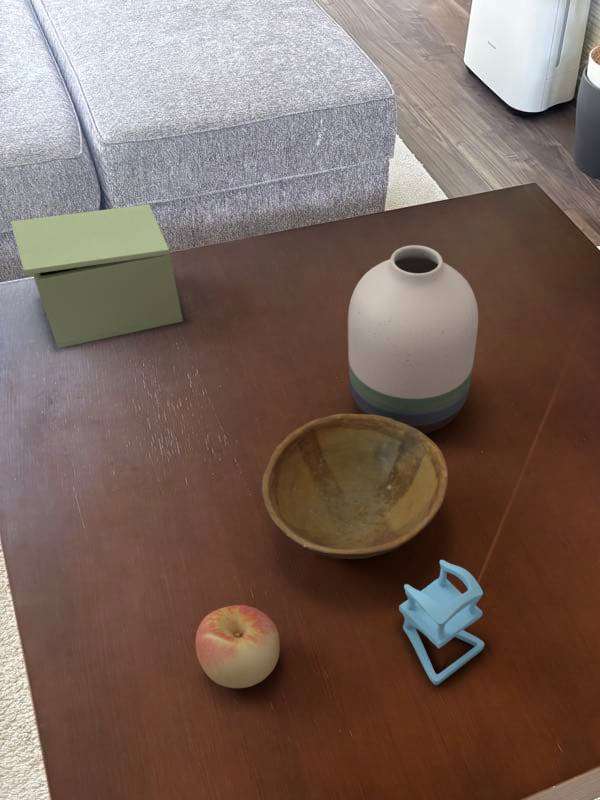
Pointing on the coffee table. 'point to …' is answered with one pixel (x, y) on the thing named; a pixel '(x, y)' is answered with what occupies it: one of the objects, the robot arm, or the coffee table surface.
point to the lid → (88, 238)
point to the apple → (237, 646)
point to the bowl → (354, 485)
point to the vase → (412, 339)
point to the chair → (443, 616)
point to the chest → (109, 299)
